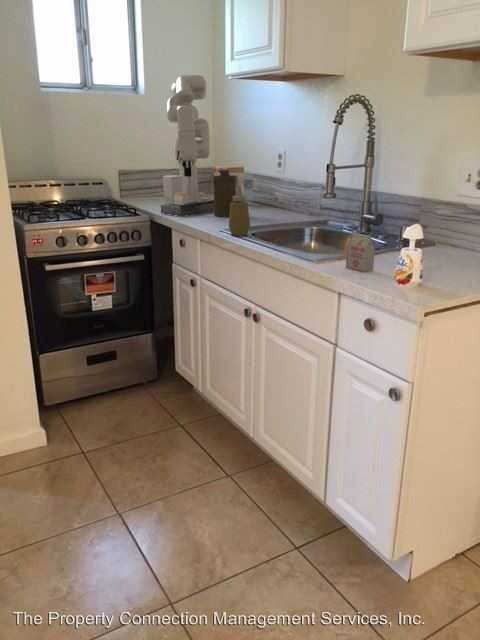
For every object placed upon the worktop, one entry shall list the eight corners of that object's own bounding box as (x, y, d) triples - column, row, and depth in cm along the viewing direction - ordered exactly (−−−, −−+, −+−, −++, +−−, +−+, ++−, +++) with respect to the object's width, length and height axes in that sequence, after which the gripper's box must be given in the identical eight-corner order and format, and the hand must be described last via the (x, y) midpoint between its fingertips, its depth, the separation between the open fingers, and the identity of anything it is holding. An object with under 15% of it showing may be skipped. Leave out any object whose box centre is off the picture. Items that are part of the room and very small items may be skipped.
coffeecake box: (243, 204, 286) (243, 165, 280) (244, 205, 280) (244, 166, 273) (215, 204, 286) (214, 165, 280) (215, 206, 279) (214, 166, 273)
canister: (216, 217, 244) (215, 171, 238) (212, 214, 254) (210, 169, 247) (239, 216, 247) (239, 170, 240) (234, 213, 256) (234, 169, 250)
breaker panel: (198, 208, 273) (198, 197, 272) (218, 210, 264) (218, 199, 262) (161, 213, 257) (160, 202, 255) (180, 216, 248) (180, 205, 246)
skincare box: (172, 208, 272) (171, 176, 267) (163, 207, 276) (161, 176, 271) (184, 206, 278) (183, 175, 273) (175, 205, 282) (173, 174, 277)
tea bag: (354, 266, 158) (357, 231, 155) (373, 270, 153) (375, 235, 150) (345, 268, 156) (347, 233, 153) (363, 272, 151) (366, 236, 148)
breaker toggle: (180, 203, 259) (180, 192, 257) (189, 204, 255) (188, 193, 253) (174, 204, 256) (173, 193, 255) (182, 205, 252) (182, 194, 251)
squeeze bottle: (248, 237, 200) (248, 187, 194) (226, 236, 201) (225, 187, 195) (251, 233, 207) (251, 184, 201) (230, 232, 209) (230, 184, 203)
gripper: (193, 134, 256) (194, 174, 263) (168, 135, 246) (170, 177, 252) (203, 134, 251) (205, 175, 258) (179, 135, 241) (181, 178, 248)
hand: (187, 176), depth 255 cm, fingers closed
